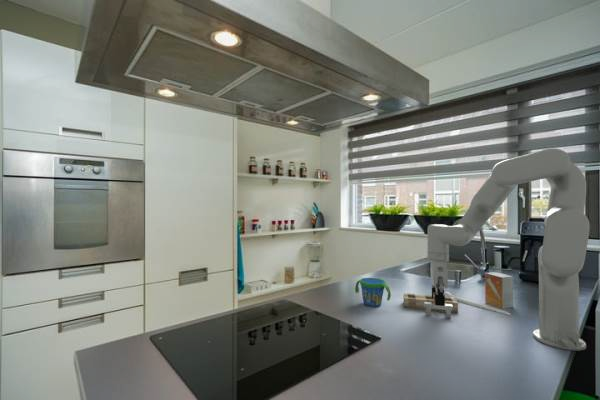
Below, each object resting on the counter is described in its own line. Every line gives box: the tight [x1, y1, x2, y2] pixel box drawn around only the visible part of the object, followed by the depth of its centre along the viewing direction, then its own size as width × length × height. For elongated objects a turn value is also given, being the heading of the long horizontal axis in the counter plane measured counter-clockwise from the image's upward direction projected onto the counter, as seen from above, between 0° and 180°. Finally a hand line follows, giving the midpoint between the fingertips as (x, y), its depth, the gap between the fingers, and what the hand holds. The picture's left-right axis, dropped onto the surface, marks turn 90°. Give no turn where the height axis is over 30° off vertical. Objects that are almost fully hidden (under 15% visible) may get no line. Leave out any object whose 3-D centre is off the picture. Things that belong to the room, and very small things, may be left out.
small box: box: [484, 271, 514, 310], centre depth 127 cm, size 8×6×13 cm
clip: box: [424, 292, 453, 319], centre depth 114 cm, size 3×10×9 cm, turn 73°
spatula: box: [444, 291, 512, 317], centre depth 127 cm, size 28×4×3 cm, turn 34°
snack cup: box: [354, 277, 392, 308], centre depth 127 cm, size 16×10×10 cm
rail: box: [403, 292, 459, 314], centre depth 123 cm, size 7×20×4 cm, turn 73°
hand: (437, 301), depth 114 cm, fingers open, 8 cm apart
